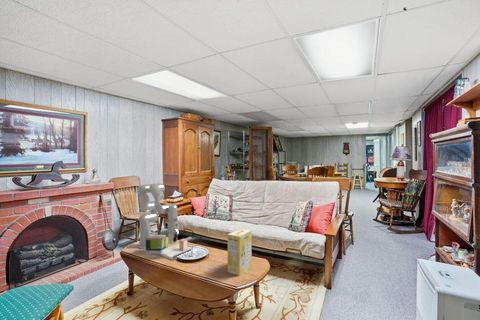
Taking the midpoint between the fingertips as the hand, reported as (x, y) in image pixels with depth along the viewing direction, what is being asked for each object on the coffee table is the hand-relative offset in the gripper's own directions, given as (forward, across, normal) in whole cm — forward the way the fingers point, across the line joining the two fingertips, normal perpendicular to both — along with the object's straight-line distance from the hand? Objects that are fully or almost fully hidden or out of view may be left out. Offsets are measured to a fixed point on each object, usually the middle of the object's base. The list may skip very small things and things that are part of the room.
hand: (172, 240), depth 198 cm
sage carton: (+2, 0, 0) cm, 2 cm away
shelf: (+14, +3, -6) cm, 16 cm away
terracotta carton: (+12, +1, -13) cm, 18 cm away
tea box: (+14, +20, +2) cm, 25 cm away
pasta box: (+15, -60, -15) cm, 63 cm away
